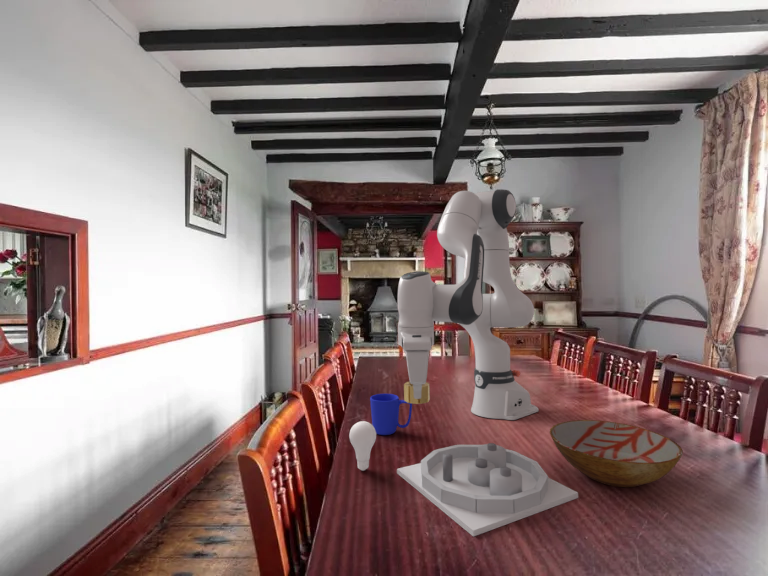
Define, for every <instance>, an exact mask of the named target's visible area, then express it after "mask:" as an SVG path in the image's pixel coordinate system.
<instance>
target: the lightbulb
mask: <svg viewBox="0 0 768 576" xmlns="http://www.w3.org/2000/svg"><path fill="white" fill-rule="evenodd" d="M348 434H349V435H348V437H349V442H350V443H351V446H352V447H353V449H354V452H355V459H356V462H357V464H356V465H357V469H359V470H360V471H362V472H364V471H366V470H368V469H369V467H370V458H371V451H372V448H373V446H374V445H375V442H376V440H377V433H376V431H375V428H374V427H373V425H372V423H370V422H368V421H364V420H362V421H361V420H360V421H358V422H356V423H354V424H353V425H352V426H351V428H350V430H349V433H348Z"/></svg>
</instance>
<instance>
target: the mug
mask: <svg viewBox="0 0 768 576" xmlns="http://www.w3.org/2000/svg"><path fill="white" fill-rule="evenodd" d="M369 401H370V411H371V412H370V413H371V424H372V425H373V427H374V428H375V431H376V435H380V436H389V435H392V434H394V433H395V432H396V431H397V428H400V429H401V428H402V429H405V428H407V427H408V426H409V425H410V422H411V419H412V411H413V404H412V403H408V402H406V401H404V399H400V397H399V396H398V395H397V394H393V393H376V394H374V395H371V396H370V397H369ZM401 404H408V405H409V409H408V410H409V411H408V418H407V421H406V422H405V423H404V424H400V423H399V414H400V405H401Z"/></svg>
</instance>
